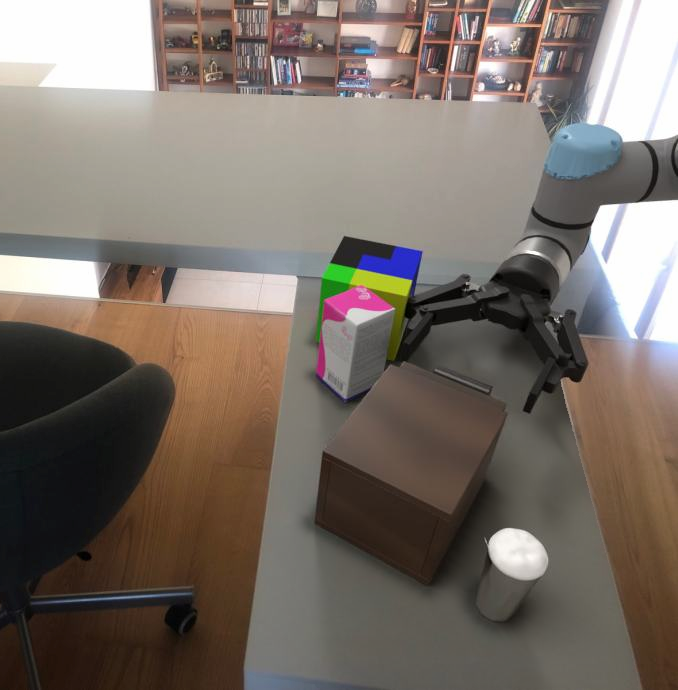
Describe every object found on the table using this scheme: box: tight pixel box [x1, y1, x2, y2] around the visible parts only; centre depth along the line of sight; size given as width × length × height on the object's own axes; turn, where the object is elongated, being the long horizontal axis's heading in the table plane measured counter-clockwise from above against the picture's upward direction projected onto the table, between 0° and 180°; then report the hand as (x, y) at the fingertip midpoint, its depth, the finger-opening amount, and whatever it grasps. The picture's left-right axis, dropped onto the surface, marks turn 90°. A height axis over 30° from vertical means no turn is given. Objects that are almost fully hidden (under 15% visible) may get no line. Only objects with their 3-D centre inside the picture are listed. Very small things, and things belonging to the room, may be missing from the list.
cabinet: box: [313, 363, 509, 586], centre depth 66 cm, size 14×12×11 cm
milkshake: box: [475, 527, 549, 622], centre depth 58 cm, size 5×5×10 cm
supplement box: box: [315, 285, 395, 403], centre depth 79 cm, size 6×6×12 cm
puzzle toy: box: [315, 235, 424, 362], centre depth 87 cm, size 10×10×10 cm
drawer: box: [398, 361, 508, 411], centre depth 69 cm, size 17×11×9 cm, turn 144°
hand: (464, 377), depth 73 cm, fingers open, 13 cm apart
